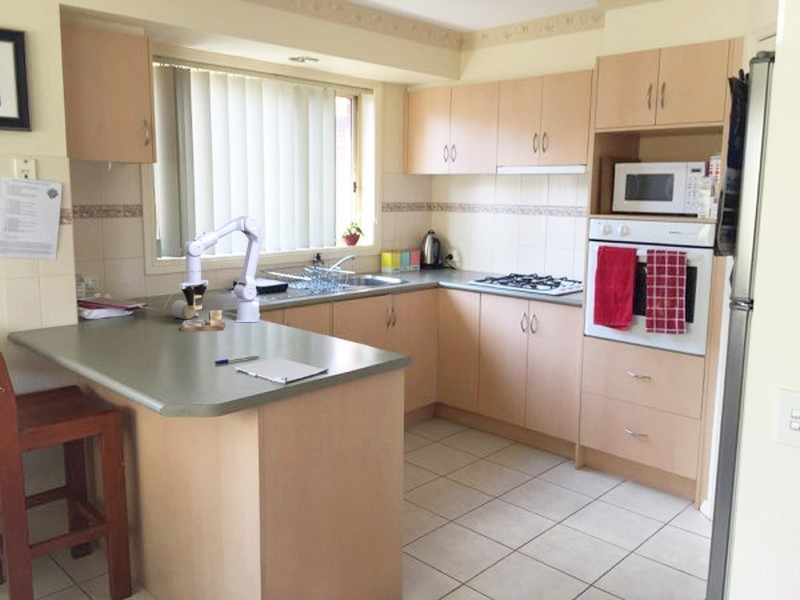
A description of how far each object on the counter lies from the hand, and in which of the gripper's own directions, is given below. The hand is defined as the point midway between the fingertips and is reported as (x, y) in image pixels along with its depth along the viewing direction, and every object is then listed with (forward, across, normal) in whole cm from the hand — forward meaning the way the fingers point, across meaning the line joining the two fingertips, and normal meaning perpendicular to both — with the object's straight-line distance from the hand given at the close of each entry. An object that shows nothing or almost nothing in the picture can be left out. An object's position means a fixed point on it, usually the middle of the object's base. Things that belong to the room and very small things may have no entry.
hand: (194, 304), depth 274 cm
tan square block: (+2, 0, 0) cm, 2 cm away
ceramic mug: (+9, -12, -16) cm, 21 cm away
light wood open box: (+9, +1, +6) cm, 11 cm away
